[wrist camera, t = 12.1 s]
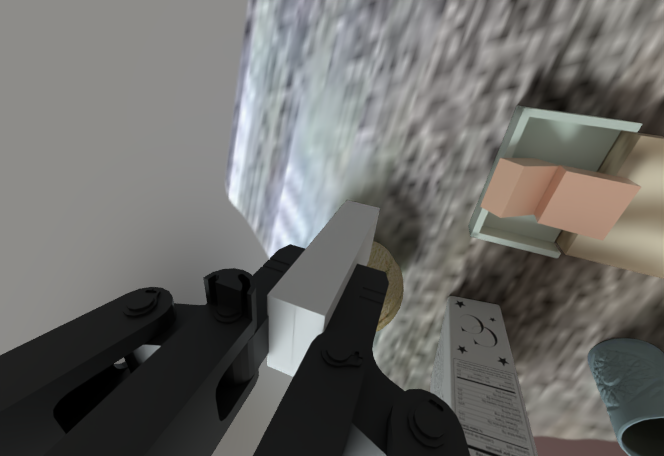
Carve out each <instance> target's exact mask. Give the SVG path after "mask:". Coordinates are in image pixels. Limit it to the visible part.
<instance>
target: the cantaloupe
mask: <svg viewBox="0 0 664 456" xmlns="http://www.w3.org/2000/svg"><path fill="white" fill-rule="evenodd" d="M367 267H371V268H374V269H377V270H380V271H384V272H386V275H387V278H388V281H389V286H388V289H387V293H386V297H385V300H384V304H383V308H382V311H381V315H380V319H379V322H378V326H377V330H376V332H377V331H379V330H381V329H383V328H384V327H385V326H386V325H387V324H389V323H390V321H391V320H392V319H393V318H394V317H395V315H396V314H397V312H398V310H399V309H400V306H401V302H402V299H403V291H404V290H403V277H402V273H401V270H400V267H399V265H398V264H397V263H396V261H395V260H394V258H393V257H392V255H391V254H390V252H389V251H388V250H387V249H386V248H385V247H384V246H382V245H381V244H380V243H377V242H375V241H373V244H372V248H371V253H370V257H369V261H368V263H367Z"/></svg>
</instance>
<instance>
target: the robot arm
mask: <svg viewBox="0 0 664 456" xmlns="http://www.w3.org/2000/svg"><path fill="white" fill-rule="evenodd" d="M379 212H380V208H378V207H374V206H370V205H366V204H361V203H357V202H353V201H349V200H346V201H345V203H344V204H343V205H342V206H341V207H340V209H339V210H338V211H337V212H336V213H335V215H334V216H333V217H332V218H331V219H330V221H329V222H328V223H327V224H326V225H325V227H324V228H323V229H322V230H321V231H320V233H319V234H318V235H317V236H316V237H315V239H314V240H313V241H312V242H311V243H310V245H309V246H308V247H307V248H306V249H304V248H301V247H298V246H294V245H291V244H290V245H288V246H286V247H284V248H281V249H279V250H278V251H277V252H276V253H275V254H274V255H273V256H272V257H271V258H270V260H268V261H267V262H266V263H265V264H264V265H263V267H261V268H260V269H259V270H258V271H257V272H256V273H255V274H254V275H253V276H252V275H251V274H250V273H248V272H246V271H244V270H240V269H234V268H233V269H222V270H219V271H215V272H212V273H211V274H209V275H207V276H205V277H204V285H205V291H206V298H207V304H206V305H189V304H176V303H174V301H173V297H172V295H171V294H170V292H169V291H167V290H165V289H163V288H158V287H149V288H142V289H138V290H135V291H132V292H130V293H127V294H125V295H123V296H121V297H119V298H117V299H115V300H113V301H111V302H109V303H107V304H105V305H103V306H101V307H98V308H96V309H95V310H92V311H90V312H89V313H86V314H84V315H82V316H80V317H78V318H76V319H74V320H72V321H70V322H68V323H66V324H64V325H62V326H60V327H58V328H55V329H53V330H51V331H49V332H47V333H45V334H43V335H41V336H39V337H37V338H35V339H33V340H31V341H29V342H27V343H25V344H23V345H21V346H19V347H16V348H14V349H12V350H10V351H8V352H6V353H4V354H2V355H0V456H211V455H212V454H213V452H214V450H215V449H216V447H217V445H218V444H219V442H220V440H221V439H222V437H223V436H224V434H225V433H226V431H227V429H228V428H229V426H230V425H231V423H232V421H233V420H234V418H235V416H236V415H237V413H238V412H239V410H240V409H241V407H242V405H243V403H244V402H245V401H246V399H247V397H248V396H249V394H250V392H251V391H252V389H253V387H254V386H255V384H256V382H257V379H258V376H259V371H258V368H259V366H260V365H261V363H262V362H263V360H264V359H265V357H266V356H268V357H267V360H268V361H267V362H268V363H267V365H268V366H269V367H271V368H274V369H276V370H279V371H281V372H283V373H286V374H288V375H290V376H293V379H292V381H291V383H290V385H289V387H288V389H287V391H286V393H285V395H284V396H283V399H282V401H281V402H280V404H279V406H278V408H277V410H276V412H275V414H274V416H273V418H272V420H271V422H270V424H269V426H268V427H267V430H266V431H265V433H264V435H263V437H262V439H261V441H260V443H259V445H258V447H257V449H256V451H255V453H254V455H253V456H470V452H469V449H468V445H467V441H466V438H465V434H464V431H463V428H462V426H461V424H460V422H459V419H458V417H457V415H456V414H455V413H454V412H453V410H452V409H451V408H450V407H449V405H448V404H447V403H446V402H445V401H443V400H442V399H441V398H439V397H438V396H436V395H435V394H433V393H431V392H428V391H425V390H422V389H409V390H407V391H404V390H403V389H401V388H400V387H399V386H397V385H396V384H395V383H393V382H392V381H391V380H390V379H389V378H387V377H386V376H385V375H384V374H383V373H382V371H381V370H380V369H379V367H378V366H377V364H376V362H375V359H374V357H373V351H372V347H373V341H374V337H375V333H376V330H377V326H378V322H379V319H380V315H381V311H382V308H383V304H384V300H385V297H386V293H387V289H388V286H389V281H388V278H387V275H386V272H384V271H380V270H377V269H374V268H371V267H367V263H368V261H369V257H370V253H371V248H372V244H373V239H374V234H375V230H376V225H377V221H378V216H379ZM123 357H124V358H125V362H123V363H122V364H114V363H115V362H117V361H119V360H120V359H122V358H123Z"/></svg>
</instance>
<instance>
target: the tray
mask: <svg viewBox="0 0 664 456" xmlns="http://www.w3.org/2000/svg"><path fill="white" fill-rule="evenodd" d="M641 126H642V124H641V123H636V122H631V121H626V120H620V119H613V118H605V117H598V116H591V115H583V114H576V113H569V112H562V111H554V110H547V109H540V108H532V107H525V106H518V105H517V107H516V109H515V112H514V114H513V117H512V119H511V122H510V124H509V127H508V129H507V132H506V134H505V136H504V139H503V141H502V144H501V146H500V149H499V151H498V154H497V156H496V159H495V161H494V164H493V166H492V168H491V171H490V173H489V176H488V178H487V181H486V183H485V186H484V188H483V191H482V193H481V196H480V198H479V201H478V203H477V205H476V208H475V210H474V213H473V215H472V218H471V220H470V223H469V225H468V226H469V232H470V237H474V238H478V239H482V240H486V241H490V242H494V243H498V244H502V245H506V246H510V247H514V248H518V249H522V250H526V251H530V252H534V253H538V254H542V255H546V256H550V257H554V258H558V257H559V256H560V254H561V252H560V251H559V250H558V248H557V247H556V245H555V244H554V242H555V240H556V238H557V237H558V235H559V233H560V232H561V230H562V229H558V228H554V227H551V226H547V225H543V224H540V223H537V220H536V218H535V215H525V216H515V217H505V218H500V217H498V216H496V215H494V214H493V213H491V212H489V211H487V210H486V209H484V208H482V207H480V205H481V203H482V200H483V198H484V196H485V193H486V191H487V188H488V186H489V184H490V181H491V179H492V176H493V174H494V171H495V169H496V167H497V164H498V162H499V159H500V158H537V159H540V160H543V161H547V162H550V163H553V164H556V165H564V166H569V167H574V168H579V169H584V170H589V171H593V172H597V170H598V168H599V167H600V165H601V163H602V162H603V160H604V158H605V157H606V155H607V153H608V152H609V150H610V148H611V147H612V145H613V143H614V142H615V140H616V138H617V137H618V135H619V133H620V132H621V130H624V131H631V132H638V130H639V129H640V127H641Z"/></svg>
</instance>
